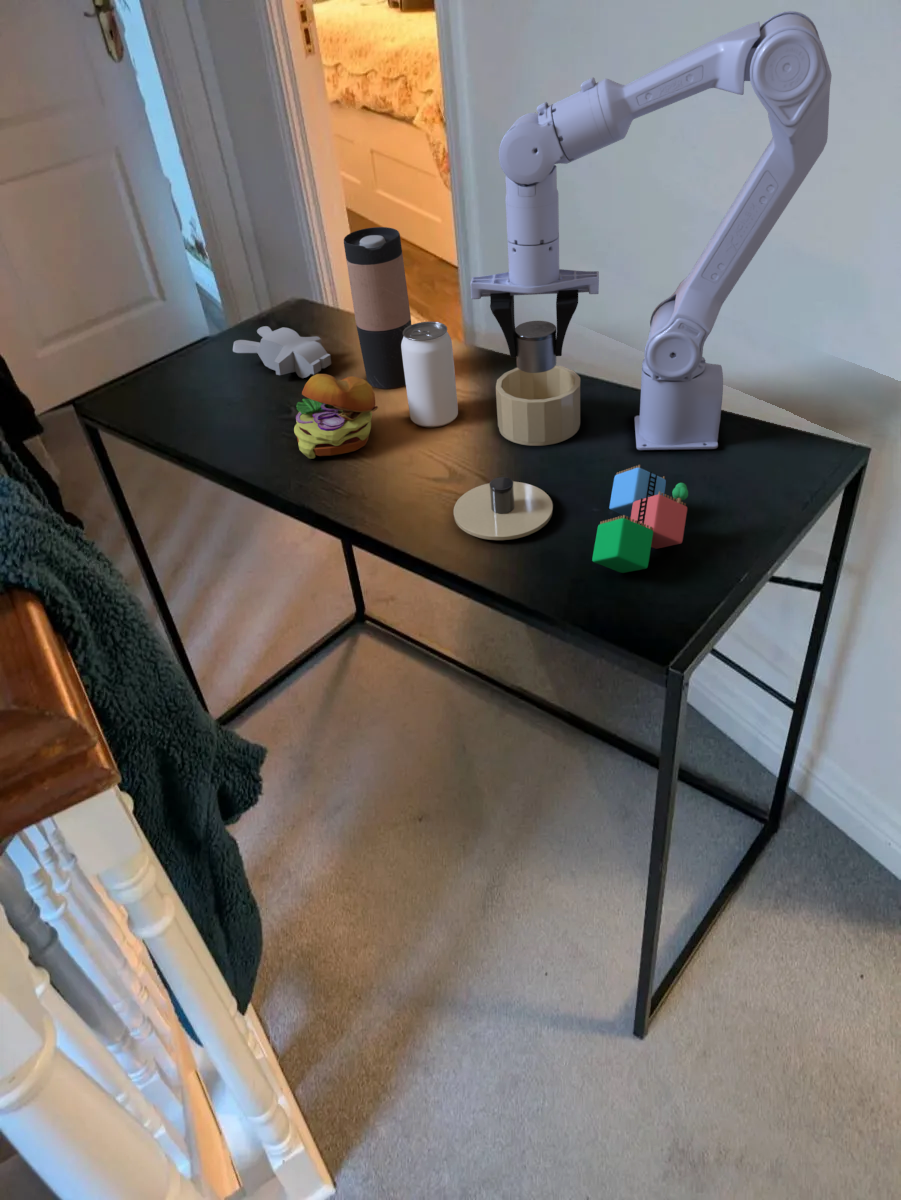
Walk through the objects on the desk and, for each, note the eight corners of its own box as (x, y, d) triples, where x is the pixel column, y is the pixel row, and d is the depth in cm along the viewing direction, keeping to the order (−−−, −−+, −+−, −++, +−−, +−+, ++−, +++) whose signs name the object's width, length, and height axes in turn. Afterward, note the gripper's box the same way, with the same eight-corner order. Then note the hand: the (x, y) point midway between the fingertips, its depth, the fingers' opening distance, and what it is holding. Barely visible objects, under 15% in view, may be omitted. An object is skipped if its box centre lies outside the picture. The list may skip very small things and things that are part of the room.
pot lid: (543, 483, 104) (542, 451, 101) (561, 537, 96) (561, 503, 93) (449, 495, 104) (446, 463, 101) (459, 551, 95) (456, 517, 93)
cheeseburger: (276, 448, 116) (274, 371, 111) (339, 433, 123) (340, 360, 118) (327, 470, 110) (327, 390, 106) (390, 453, 117) (393, 377, 113)
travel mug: (387, 362, 134) (367, 224, 121) (428, 372, 130) (412, 230, 117) (354, 383, 129) (330, 241, 117) (395, 394, 126) (375, 248, 113)
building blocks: (625, 589, 95) (642, 485, 98) (679, 580, 88) (696, 468, 91) (566, 567, 92) (586, 459, 94) (618, 555, 85) (638, 440, 87)
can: (453, 429, 116) (444, 341, 109) (405, 428, 118) (393, 341, 110) (463, 405, 121) (455, 319, 113) (416, 405, 122) (406, 320, 115)
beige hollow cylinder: (580, 405, 118) (580, 362, 114) (579, 445, 110) (579, 400, 106) (502, 407, 120) (499, 365, 116) (495, 446, 112) (492, 402, 108)
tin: (557, 355, 110) (556, 319, 107) (556, 372, 106) (555, 336, 104) (517, 356, 111) (516, 321, 108) (515, 374, 107) (513, 338, 104)
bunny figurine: (298, 362, 127) (223, 333, 133) (302, 394, 130) (228, 365, 137) (341, 337, 133) (267, 310, 139) (344, 368, 136) (271, 341, 142)
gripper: (599, 222, 101) (597, 337, 110) (471, 229, 103) (479, 341, 112) (599, 243, 96) (597, 362, 104) (465, 250, 98) (474, 366, 106)
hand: (536, 353), depth 108 cm, fingers closed on tin, 5 cm apart
